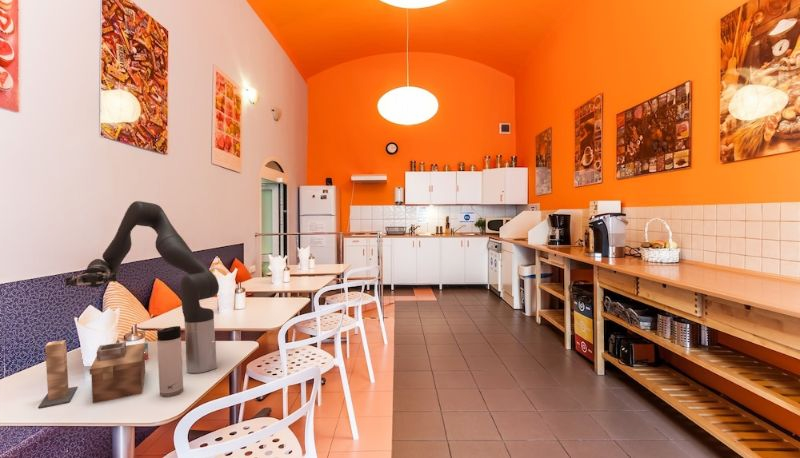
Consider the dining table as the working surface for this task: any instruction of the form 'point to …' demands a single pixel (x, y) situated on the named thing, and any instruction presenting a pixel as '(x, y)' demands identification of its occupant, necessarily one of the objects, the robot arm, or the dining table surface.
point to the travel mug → (170, 361)
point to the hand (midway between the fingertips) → (89, 281)
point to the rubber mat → (58, 401)
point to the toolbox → (118, 371)
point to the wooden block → (56, 369)
